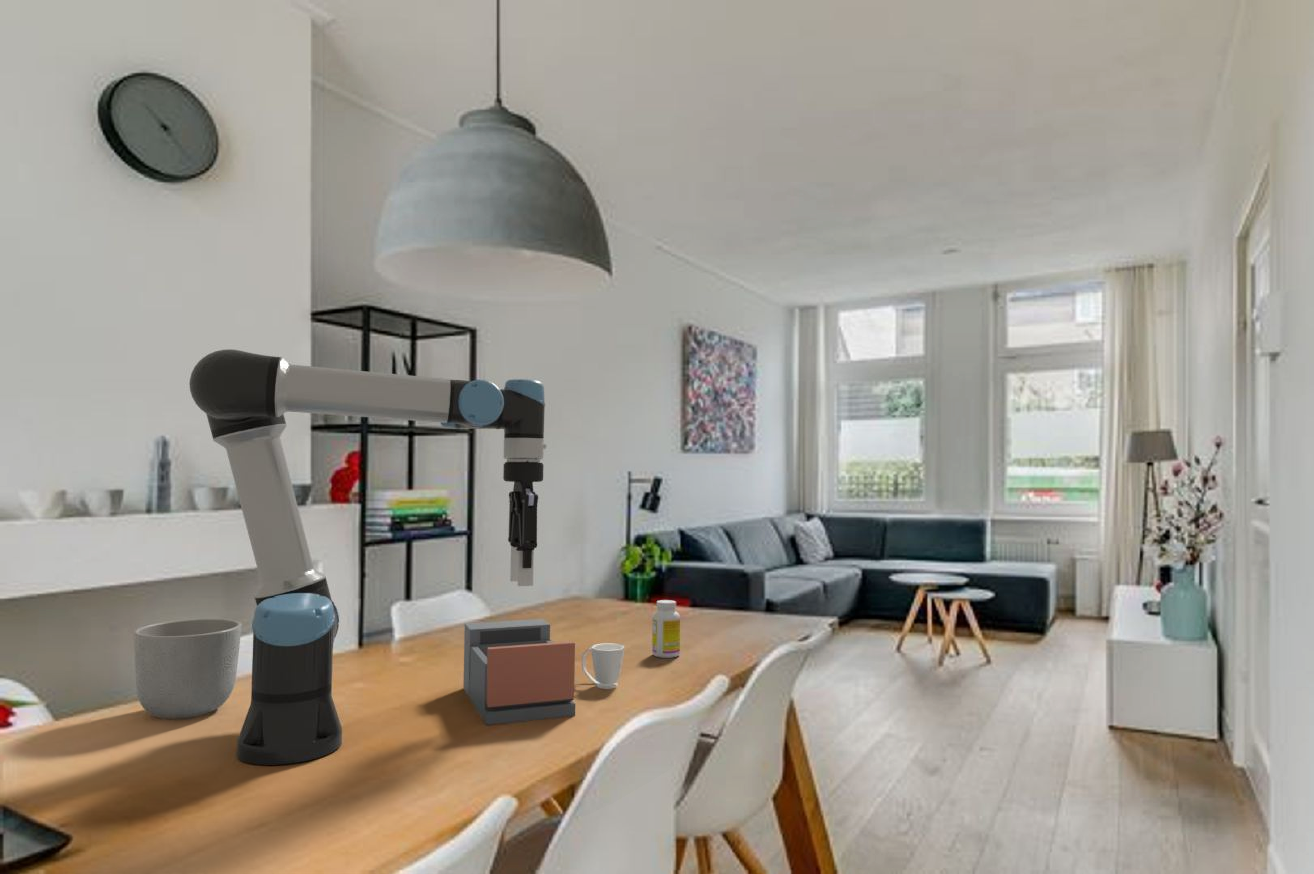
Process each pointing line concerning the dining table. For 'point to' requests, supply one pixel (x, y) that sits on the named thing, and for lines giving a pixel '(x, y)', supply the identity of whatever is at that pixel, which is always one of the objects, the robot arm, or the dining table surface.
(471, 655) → the grey drop-front box
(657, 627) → the supplement bottle
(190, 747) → the dining table surface
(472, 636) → the grey box shell
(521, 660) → the panel
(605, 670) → the cup
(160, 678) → the planter
